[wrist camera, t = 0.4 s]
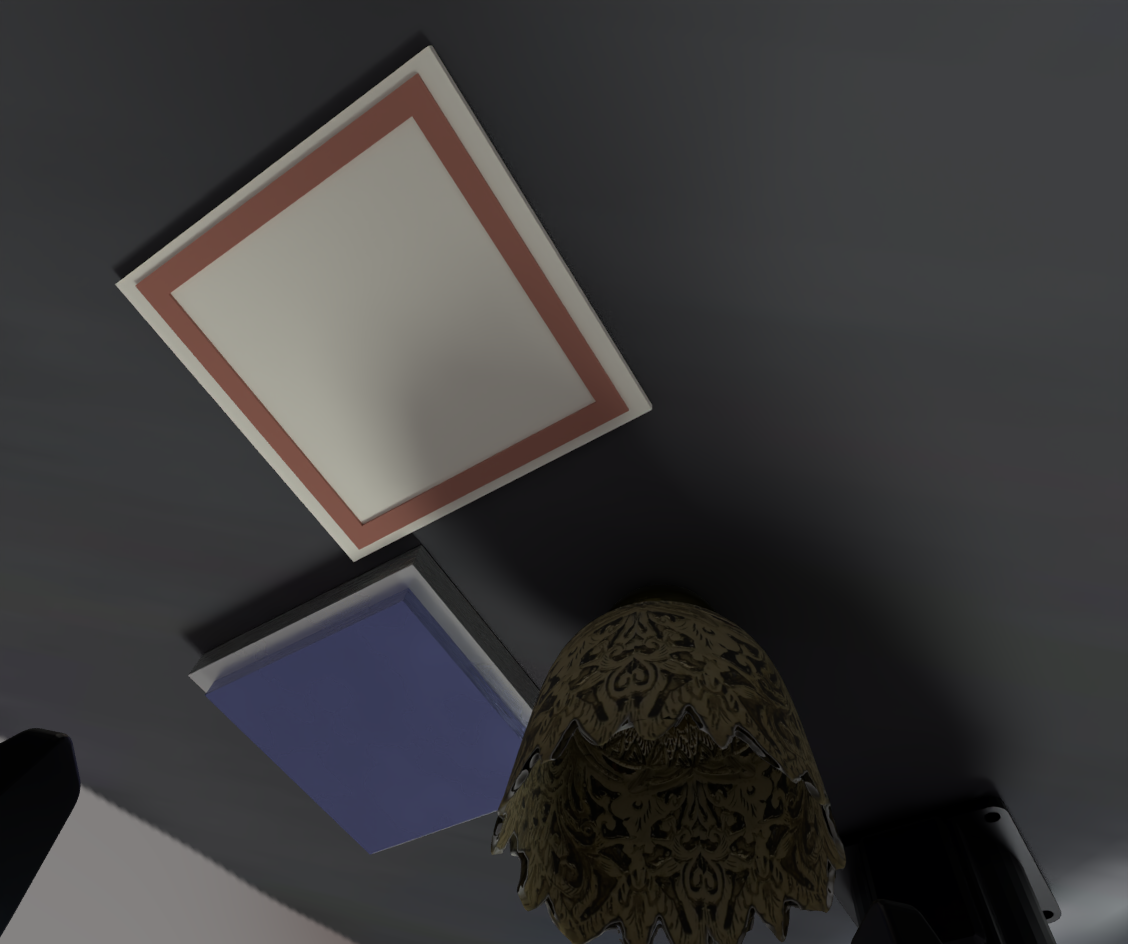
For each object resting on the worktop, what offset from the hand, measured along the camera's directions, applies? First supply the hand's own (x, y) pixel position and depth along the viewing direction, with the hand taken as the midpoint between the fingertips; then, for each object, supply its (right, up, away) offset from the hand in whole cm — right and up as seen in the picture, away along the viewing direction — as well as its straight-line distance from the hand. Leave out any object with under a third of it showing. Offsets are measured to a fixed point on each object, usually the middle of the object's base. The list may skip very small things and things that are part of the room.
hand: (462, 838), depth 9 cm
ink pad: (-4, -4, +18) cm, 19 cm away
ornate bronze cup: (+4, 0, +15) cm, 16 cm away
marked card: (-3, +7, +12) cm, 14 cm away
